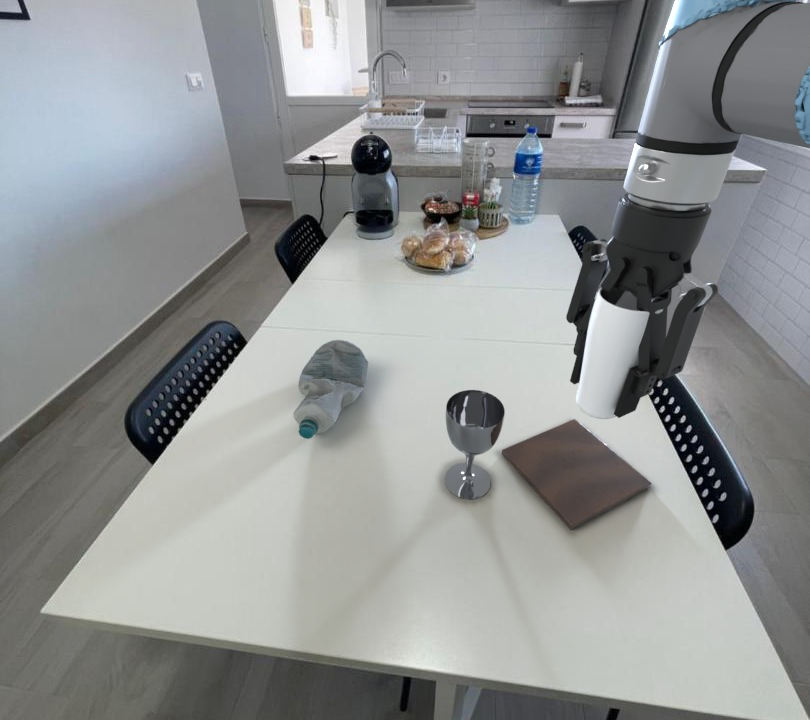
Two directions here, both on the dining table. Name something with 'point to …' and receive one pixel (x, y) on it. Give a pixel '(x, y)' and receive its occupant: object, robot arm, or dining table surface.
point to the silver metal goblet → (472, 439)
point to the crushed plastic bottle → (329, 385)
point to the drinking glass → (609, 353)
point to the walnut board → (575, 472)
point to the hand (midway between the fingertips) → (601, 394)
